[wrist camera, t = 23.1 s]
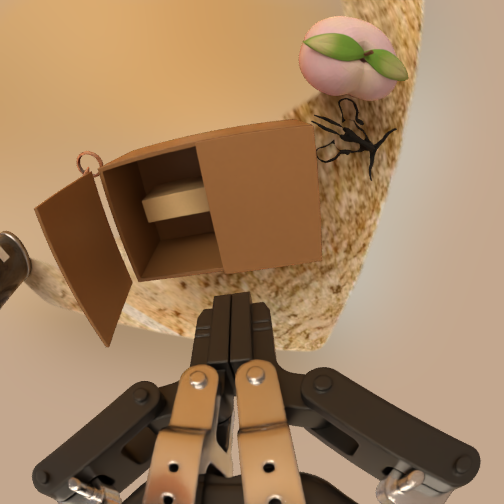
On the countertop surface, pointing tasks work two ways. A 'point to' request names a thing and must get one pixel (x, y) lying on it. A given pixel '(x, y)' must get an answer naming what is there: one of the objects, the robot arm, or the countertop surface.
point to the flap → (263, 198)
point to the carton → (132, 226)
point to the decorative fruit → (350, 59)
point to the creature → (353, 138)
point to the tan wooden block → (176, 199)
